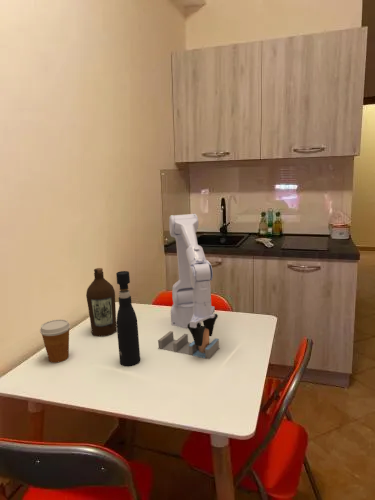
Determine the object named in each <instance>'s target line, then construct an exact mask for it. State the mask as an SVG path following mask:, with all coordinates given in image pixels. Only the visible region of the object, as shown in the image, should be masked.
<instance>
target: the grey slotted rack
mask: <svg viewBox="0 0 375 500" xmlns="http://www.w3.org/2000/svg"><path fill="white" fill-rule="evenodd" d="M174 337H175V336H174V331H172V330H170V331H169V332H167V333H166V334H165V335H163V336H162V337H160V338H159V339H158V340H157V342H158V347H157V349H158V350H163V351H168V352H173V353H179V354H183V355H188V356H192V357H198V358H202V359H208V360H211V358H212V357H213V356H215V355H216V353H217V352H218V351H219V350H220V340H219V338H216V337H215V338H214V339H213V340H212V341H211V342H209V345H208V346H207V347H206V348H205V353H200V352H199V347H198V346H197V345H195V342H194V340H193V341H192V342H189V334H187V333H183V334H182V335H181V336H180V337H179V338H177V339H174Z"/></svg>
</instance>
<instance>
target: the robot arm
mask: <svg viewBox="0 0 375 500" xmlns="http://www.w3.org/2000/svg"><path fill="white" fill-rule="evenodd" d="M168 226H169V235H170V237H171V238H173V239H174V241H175V245H176V246H175V247H176V255H177V259H176V260H177V271H178V280H177V281H176V282H175V283H174V284H173V285H172V287H171V289H172V292H171V295H172V296H171V298H172V305H171V309H170V324H171V326H174V327H178V328H182V329H188V331H189V332H190V335H192V336H191V337H192V339H193V341H194V342H195V345H197V346H202V343H203V333H204V330H205V328H206V329H208V330H209V337H212V336H213V332H214V327H215V323H216V322H217V321H216V320H217V319H218V316H219V315H218V314H217V313H215V311H216V310H215V306H213V305H212V290H211V289H212V287H211V281H213V278H214V274H213V273H214V271H213V267H212V264H211V262H210V261H209V260H207V258H206V254H205V252H204V249H203V246H201V245H199V244H198V238H197V232H198V229H199V217H198V215H197V214H196V213H189V214H188V213H186V214H174V215H173V214H171V215H170V216H169V218H168ZM201 322H202V324H203V325H201Z"/></svg>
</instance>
